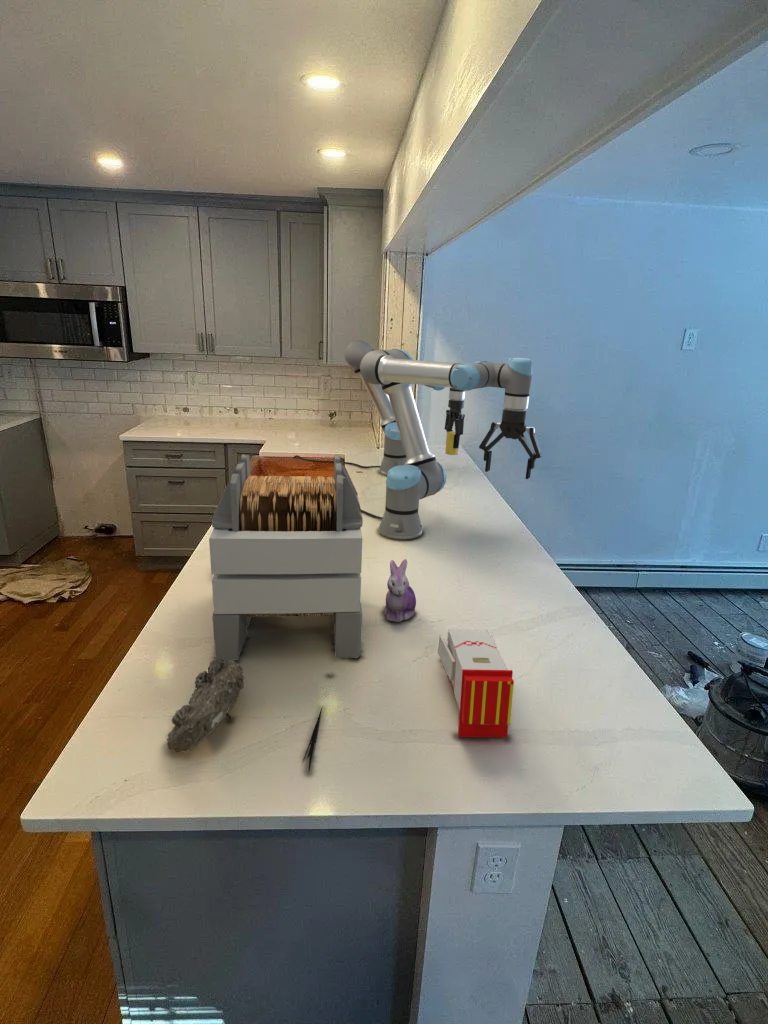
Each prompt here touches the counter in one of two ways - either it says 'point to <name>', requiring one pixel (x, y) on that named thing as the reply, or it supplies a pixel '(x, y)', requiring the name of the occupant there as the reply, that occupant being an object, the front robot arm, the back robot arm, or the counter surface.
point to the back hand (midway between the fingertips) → (452, 446)
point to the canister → (450, 444)
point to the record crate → (286, 555)
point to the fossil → (206, 705)
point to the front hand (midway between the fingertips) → (507, 474)
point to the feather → (313, 740)
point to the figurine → (399, 594)
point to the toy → (478, 682)
